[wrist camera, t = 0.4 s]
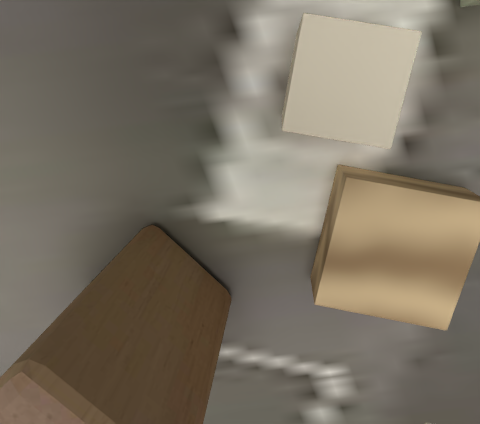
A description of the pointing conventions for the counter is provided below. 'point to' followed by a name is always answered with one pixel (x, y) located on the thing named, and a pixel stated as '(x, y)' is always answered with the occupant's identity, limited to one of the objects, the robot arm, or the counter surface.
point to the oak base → (395, 247)
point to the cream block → (348, 80)
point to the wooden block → (126, 345)
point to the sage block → (469, 3)
